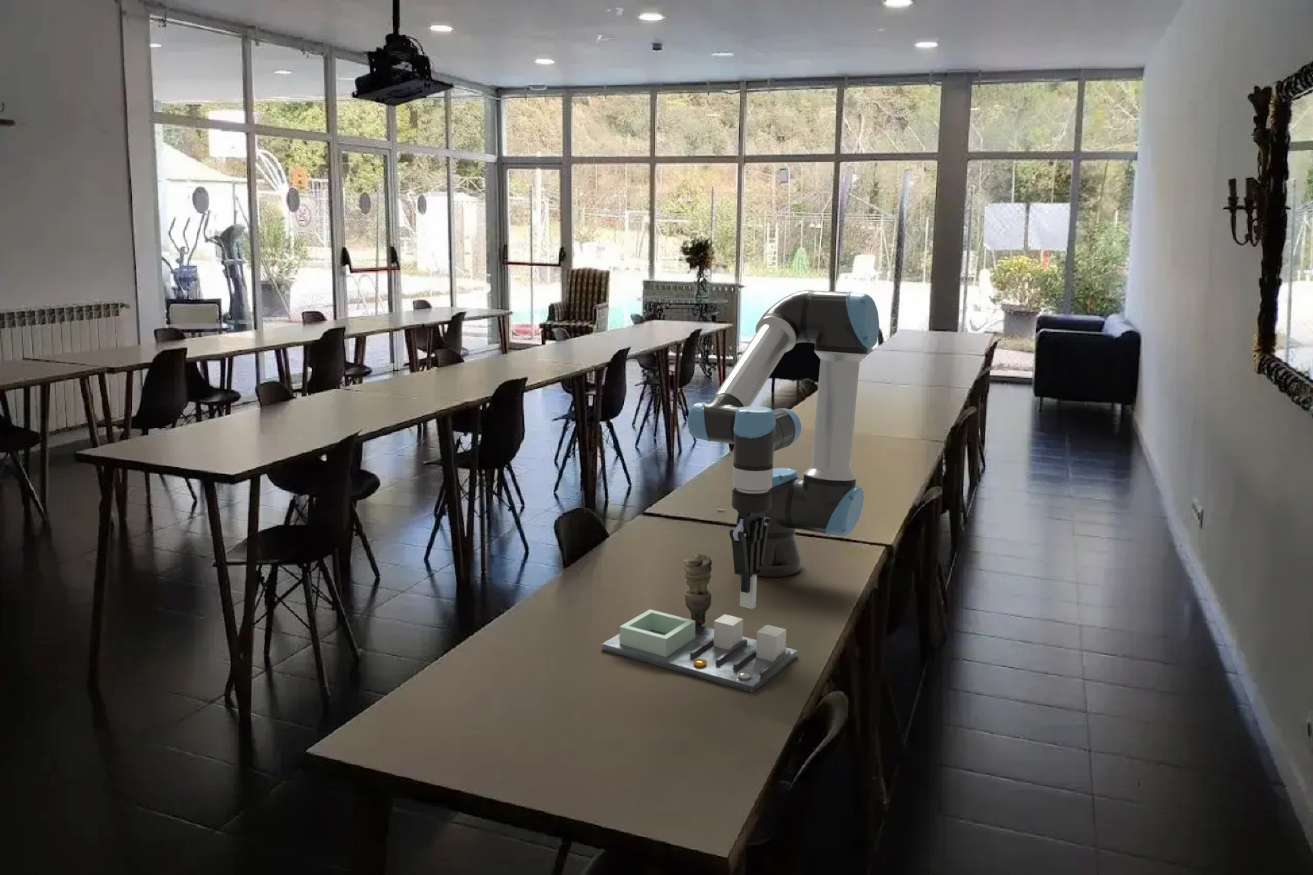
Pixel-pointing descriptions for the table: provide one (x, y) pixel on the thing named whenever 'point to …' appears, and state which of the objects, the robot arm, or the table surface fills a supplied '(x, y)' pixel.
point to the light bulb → (698, 586)
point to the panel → (711, 660)
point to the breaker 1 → (728, 631)
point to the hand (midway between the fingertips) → (747, 606)
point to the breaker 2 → (770, 642)
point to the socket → (663, 645)
